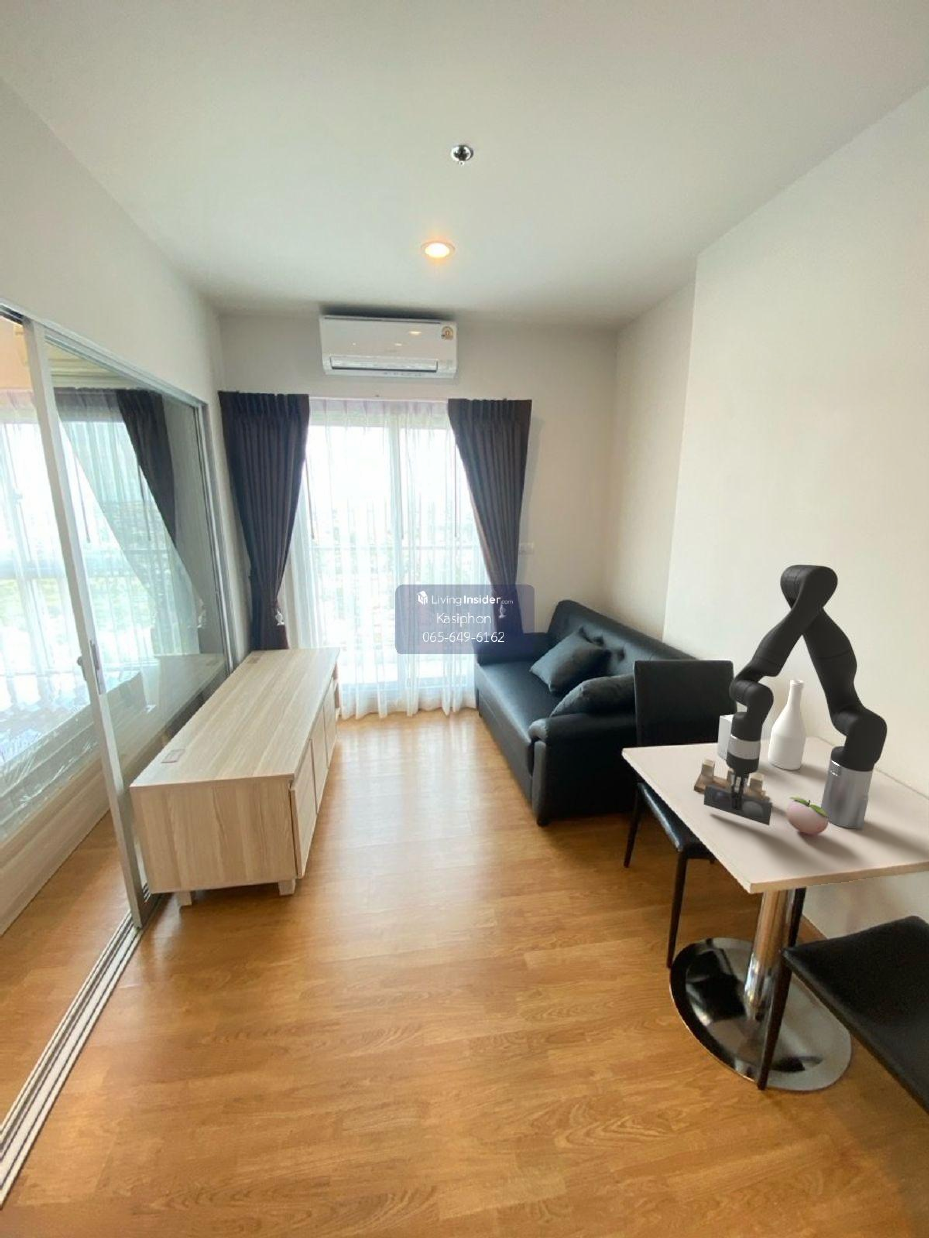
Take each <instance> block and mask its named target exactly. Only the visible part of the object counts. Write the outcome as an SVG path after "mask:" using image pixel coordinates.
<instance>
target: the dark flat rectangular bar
mask: <svg viewBox="0 0 929 1238" xmlns="http://www.w3.org/2000/svg"><path fill="white" fill-rule="evenodd" d="M703 796H704V798H703V805H704V806H707V807H711V808H714V809H716V810H719V811H721V812H722V811H723V812H725V813H730V814H731V815H734V816H738V817H741V818H745V819H747V820H751V821H753V822H757V823H760V824H763V825H765V826H770V823H771V818H772V817H771V816H772V810H773V802H770V801H767V800H765V799H764V800H761V799H757V798H754V797H751V796H747V795H744V794H743V799H742V803H741V810H740V811H738V810H734V809H732V808H731V806H732V798H731V790H727V789H724V788H721V787H717V786H714V785H710V784H706V787H705V794H704V795H703Z"/></svg>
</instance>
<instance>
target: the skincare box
mask: <svg viewBox="0 0 929 1238" xmlns="http://www.w3.org/2000/svg"><path fill="white" fill-rule="evenodd" d="M733 715H734V714H728V715H727V714H726V715H720V716H719V726H718V737H717V738H718V740H717V750H716V755H718V756H719V757H721V758H722V759H724V761H726V758H727V749H728V741H729V737H730V733H731V725H732V718H733Z"/></svg>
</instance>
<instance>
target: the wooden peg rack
mask: <svg viewBox="0 0 929 1238" xmlns="http://www.w3.org/2000/svg"><path fill="white" fill-rule="evenodd" d="M702 761H703V762H702V763H701V771H700V773H699V775H698V777H697V779H696V781H695V783H694V786H693V791H695V792H698V793H702V794H704V795H705V787H706V784H710V785H714V786H717V787H721V788H724V789H727V790H731V783H732V780H731V775H732V773H733V769H731V768H730V767H729V766H728V769H727V773H726V778H723V777H720V776H716V775H715V767H716V761H715V760H712V759H708V758H704V759H703V760H702ZM764 776H765V775H764V774H762V773H757V772H754V773H751V775H750V777H749V778H750V779H749V785H747V787H746V791H745V793H744V795H747V796H751V797H754V798H757V799H761V800H764V801H765V798H766V794H767V791H766V790H764V789H763V784H764Z"/></svg>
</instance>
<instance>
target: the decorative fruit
mask: <svg viewBox="0 0 929 1238" xmlns="http://www.w3.org/2000/svg"><path fill="white" fill-rule="evenodd" d="M789 799H791V800H792V801H790V802H789V804H787V807H786V811H785V812H786V814H785V815H786V817H787V820H788V823H789V824H790V825H791V826H792V827H793V828H794V829H795V830H797V831H800V832H801V833H803V834H806V835H810V836H811V835H812V836H813V835H815V836H816V835H819V834H821V833H822V832H824V831H825V830H826V829H827V828H828V826H829V821H828V819H829V818H828V816H827V814H826V813H825V811H824V810H823V809H822V808H821V806H819V805H817V804H815V803H814V804H813V803H811V800H810V799H808V801H807V800H805V798H802V797H799V796H794V797H793V796H791V797H789Z"/></svg>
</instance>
